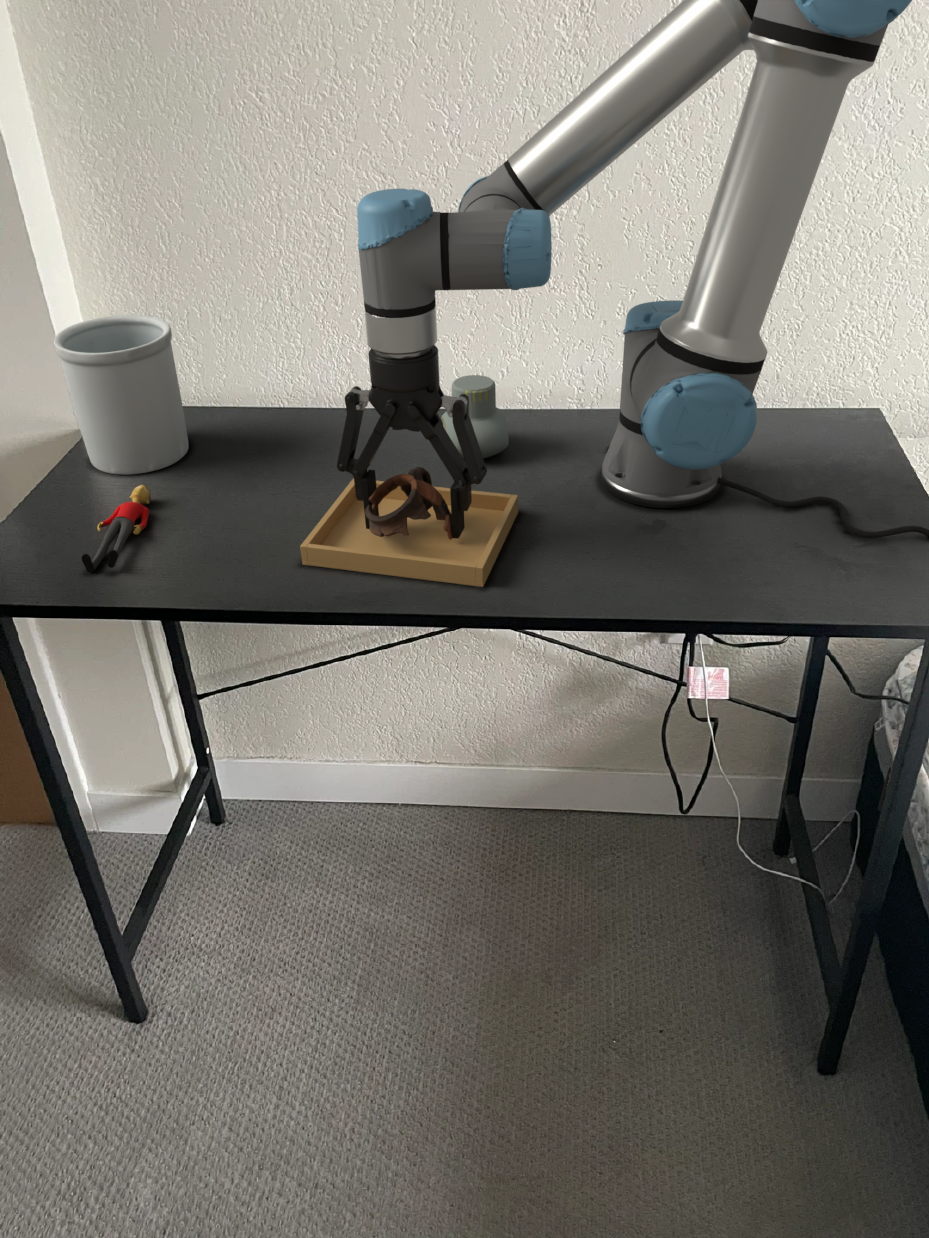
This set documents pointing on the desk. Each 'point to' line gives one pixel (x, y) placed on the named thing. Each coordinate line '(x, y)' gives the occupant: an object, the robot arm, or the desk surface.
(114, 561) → the person figure
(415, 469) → the broken clay pot
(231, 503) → the desk surface
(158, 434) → the utensil holder
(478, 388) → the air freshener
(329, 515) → the tray
